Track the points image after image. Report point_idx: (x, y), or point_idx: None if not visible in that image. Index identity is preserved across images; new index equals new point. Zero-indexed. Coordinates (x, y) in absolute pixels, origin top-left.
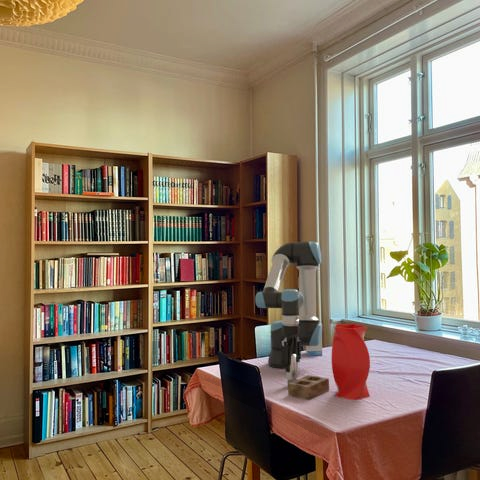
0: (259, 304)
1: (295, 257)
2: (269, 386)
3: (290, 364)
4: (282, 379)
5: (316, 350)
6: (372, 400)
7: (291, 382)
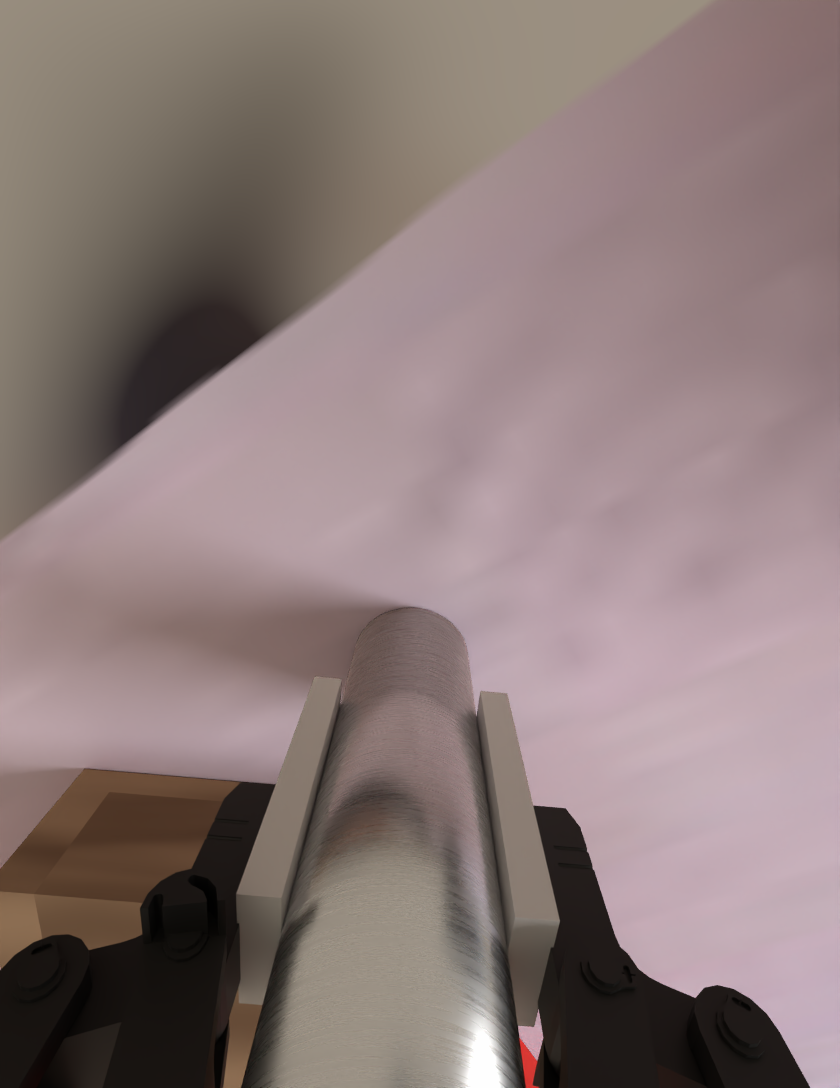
0: None
1: None
2: (236, 409)
3: (257, 989)
4: (667, 386)
5: None
6: None
7: (44, 909)
